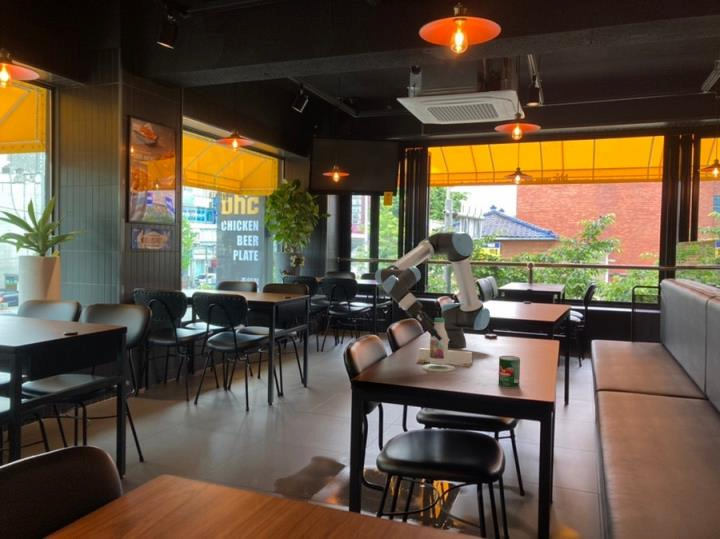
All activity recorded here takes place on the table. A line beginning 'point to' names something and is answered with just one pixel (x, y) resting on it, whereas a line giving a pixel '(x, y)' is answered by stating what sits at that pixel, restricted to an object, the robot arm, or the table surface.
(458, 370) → the table surface
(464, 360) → the low wall
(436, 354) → the milk bottle
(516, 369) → the canned tomato
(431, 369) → the coaster pad
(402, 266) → the robot arm
